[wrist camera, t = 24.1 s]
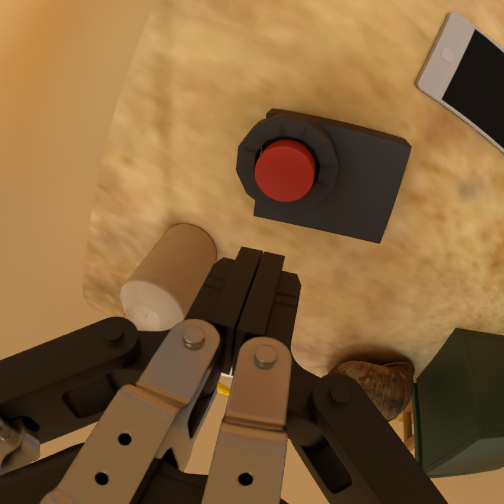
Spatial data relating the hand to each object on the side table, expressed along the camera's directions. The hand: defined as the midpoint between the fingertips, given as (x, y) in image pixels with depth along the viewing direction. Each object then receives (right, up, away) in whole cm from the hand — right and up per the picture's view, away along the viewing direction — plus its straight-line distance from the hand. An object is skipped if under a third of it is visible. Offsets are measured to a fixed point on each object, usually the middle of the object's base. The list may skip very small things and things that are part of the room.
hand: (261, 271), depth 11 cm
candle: (-6, +1, +19) cm, 20 cm away
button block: (+6, +7, +12) cm, 15 cm away
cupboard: (+28, -13, +20) cm, 36 cm away
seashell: (+14, -13, +24) cm, 30 cm away
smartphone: (+19, +12, +5) cm, 23 cm away
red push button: (+2, +6, +9) cm, 11 cm away
